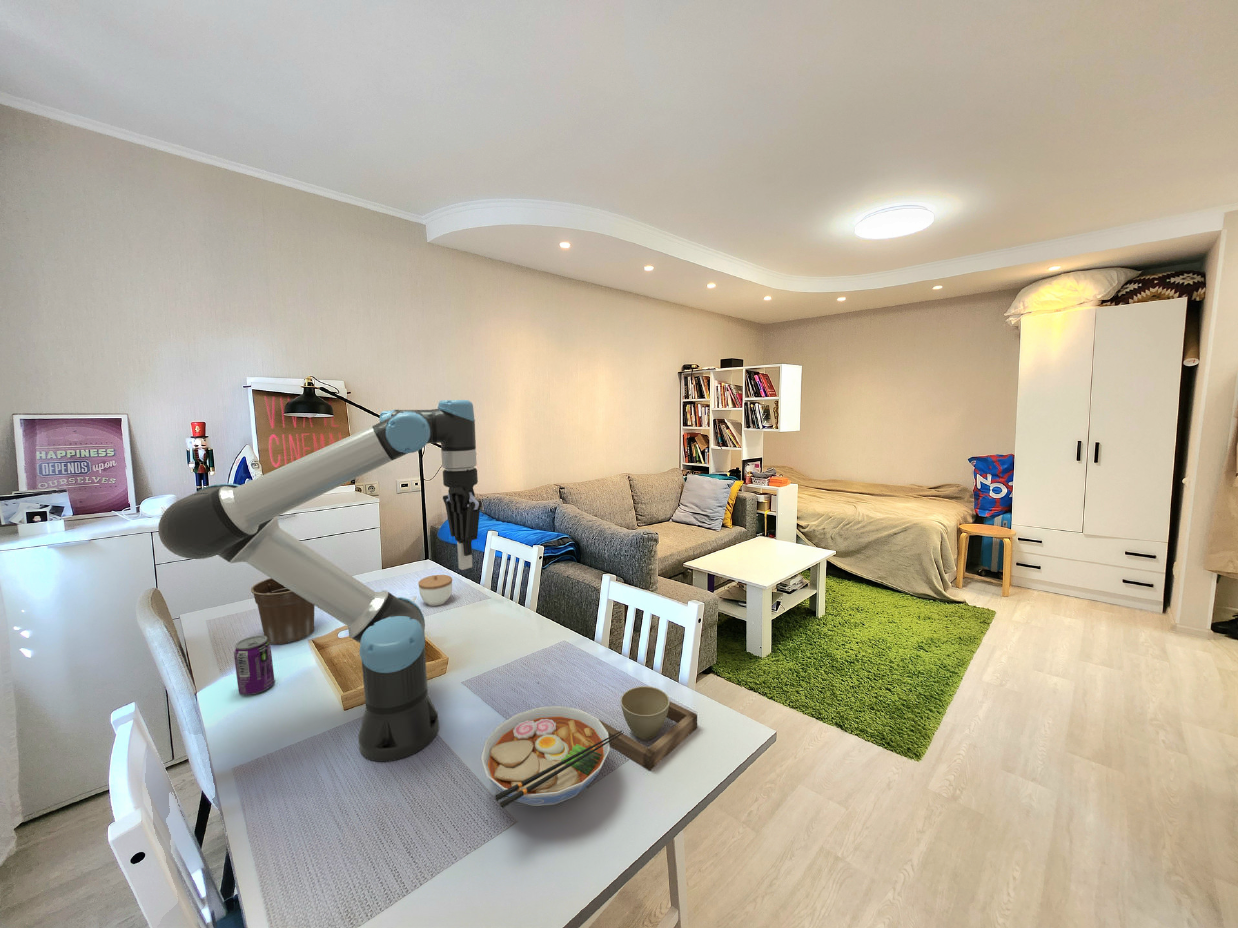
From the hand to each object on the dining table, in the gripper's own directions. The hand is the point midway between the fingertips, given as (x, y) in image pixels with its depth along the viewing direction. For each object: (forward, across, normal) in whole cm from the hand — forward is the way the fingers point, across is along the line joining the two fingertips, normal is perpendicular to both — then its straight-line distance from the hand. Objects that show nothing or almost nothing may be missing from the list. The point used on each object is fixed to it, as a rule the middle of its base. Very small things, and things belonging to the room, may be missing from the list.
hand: (465, 567), depth 118 cm
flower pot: (+30, -42, -14) cm, 54 cm away
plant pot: (+30, +63, +21) cm, 73 cm away
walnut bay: (+29, -42, -14) cm, 53 cm away
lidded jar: (+30, +52, -19) cm, 63 cm away
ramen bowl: (+30, -38, +8) cm, 49 cm away
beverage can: (+30, +38, +35) cm, 60 cm away
